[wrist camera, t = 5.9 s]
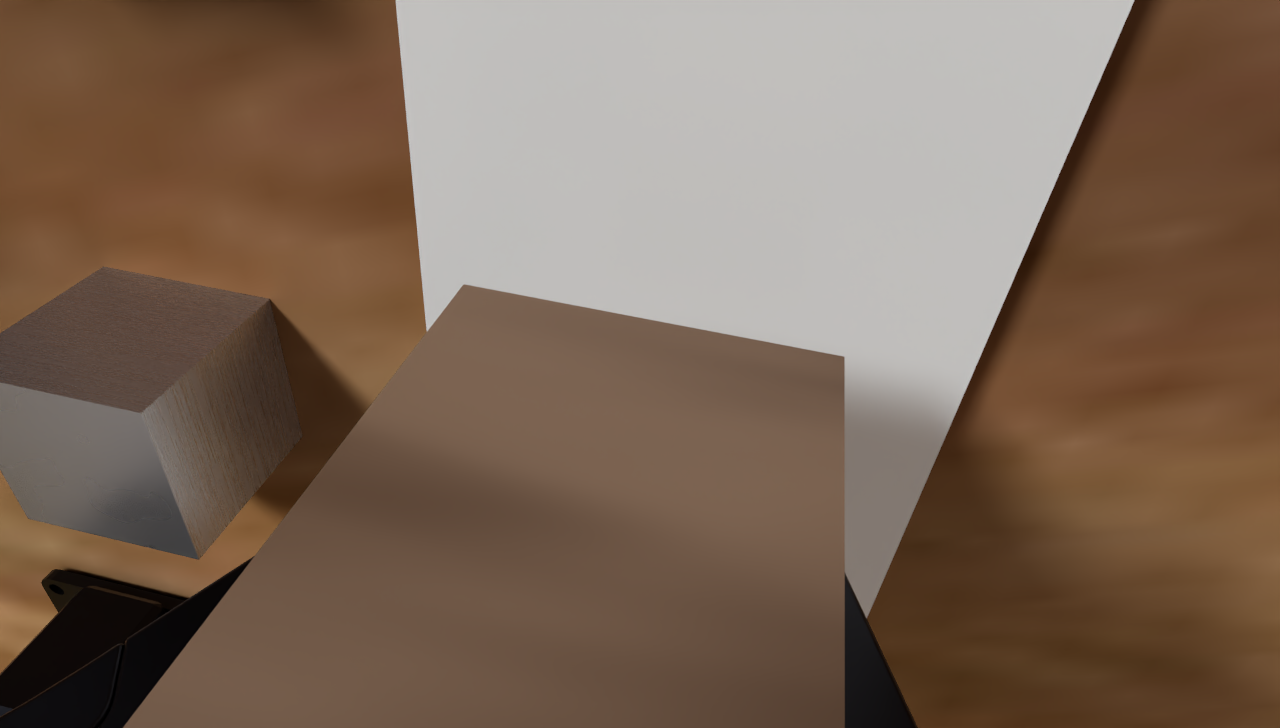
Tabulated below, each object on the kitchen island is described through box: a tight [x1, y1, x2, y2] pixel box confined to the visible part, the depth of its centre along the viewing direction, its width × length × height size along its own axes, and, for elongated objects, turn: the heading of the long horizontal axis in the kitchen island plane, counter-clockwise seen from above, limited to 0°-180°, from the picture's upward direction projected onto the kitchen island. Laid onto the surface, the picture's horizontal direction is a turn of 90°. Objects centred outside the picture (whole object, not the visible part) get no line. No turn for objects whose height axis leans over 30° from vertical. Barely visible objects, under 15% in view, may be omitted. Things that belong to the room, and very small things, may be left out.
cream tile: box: [396, 0, 1135, 618], centre depth 14 cm, size 20×10×1 cm, turn 175°
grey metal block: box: [0, 267, 302, 559], centre depth 17 cm, size 4×4×4 cm
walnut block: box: [123, 284, 845, 728], centre depth 8 cm, size 4×4×6 cm
